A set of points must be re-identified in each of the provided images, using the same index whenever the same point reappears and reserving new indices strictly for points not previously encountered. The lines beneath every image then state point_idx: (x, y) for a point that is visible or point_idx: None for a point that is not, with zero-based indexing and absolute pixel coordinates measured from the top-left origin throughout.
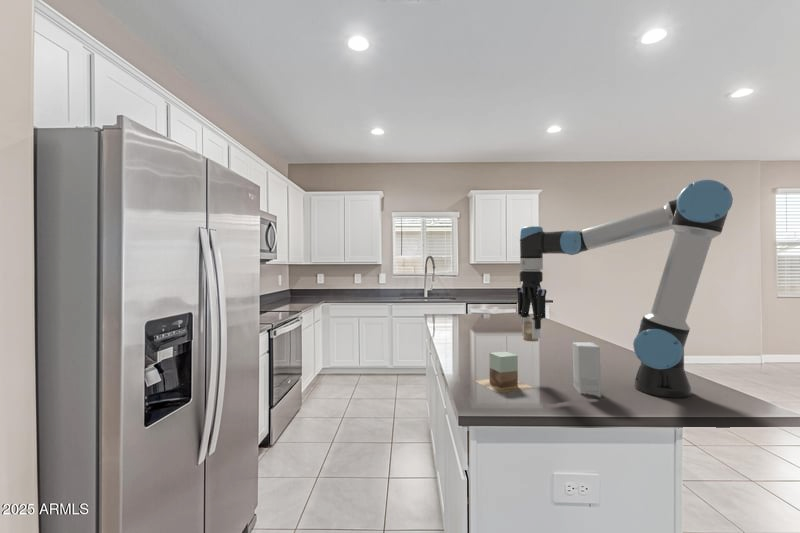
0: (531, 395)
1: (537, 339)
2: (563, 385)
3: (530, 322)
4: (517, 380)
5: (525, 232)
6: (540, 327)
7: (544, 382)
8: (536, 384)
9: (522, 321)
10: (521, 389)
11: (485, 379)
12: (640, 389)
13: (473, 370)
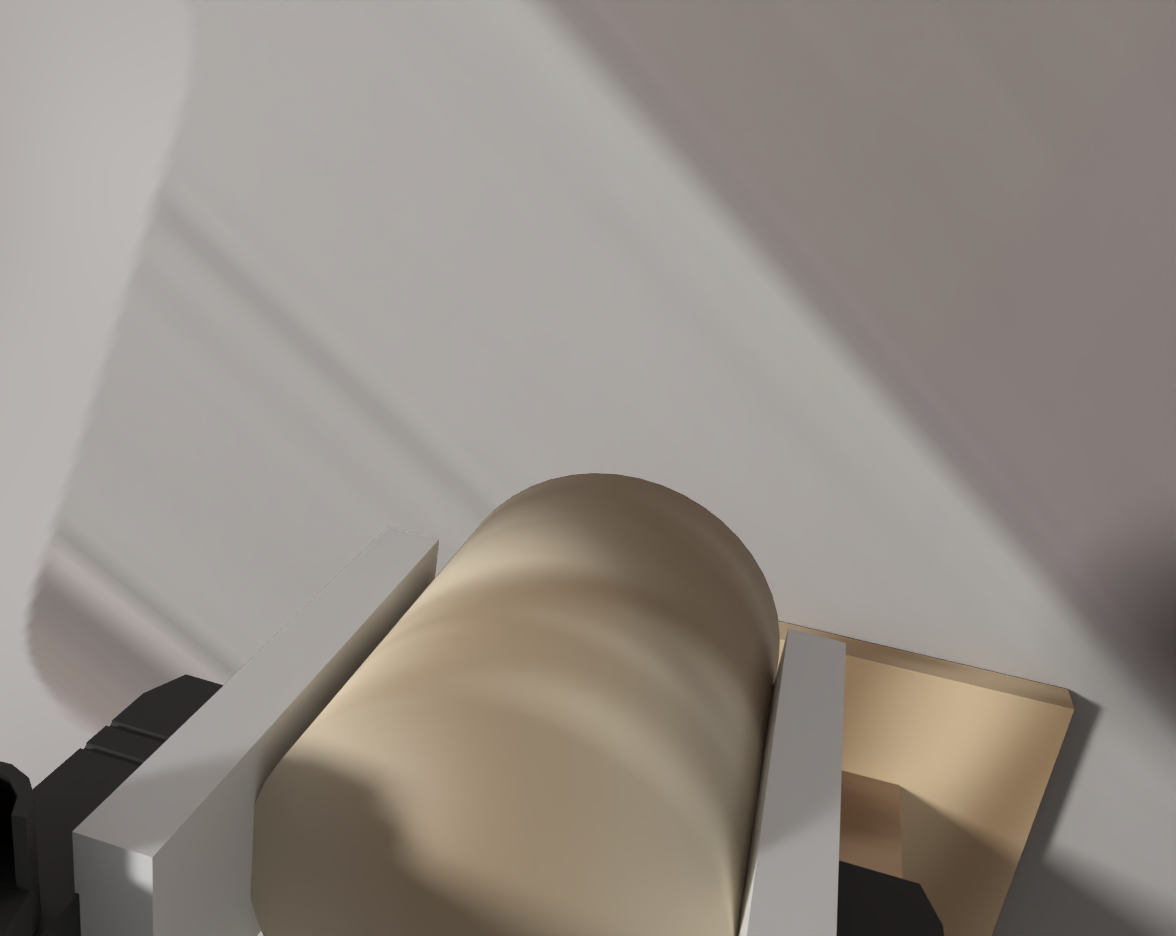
0: (1137, 815)
1: (771, 624)
2: (1148, 193)
3: (356, 822)
4: (900, 829)
5: None
6: (937, 933)
7: (894, 308)
8: (894, 464)
9: None
10: (1011, 845)
11: None
12: None
13: (141, 618)
